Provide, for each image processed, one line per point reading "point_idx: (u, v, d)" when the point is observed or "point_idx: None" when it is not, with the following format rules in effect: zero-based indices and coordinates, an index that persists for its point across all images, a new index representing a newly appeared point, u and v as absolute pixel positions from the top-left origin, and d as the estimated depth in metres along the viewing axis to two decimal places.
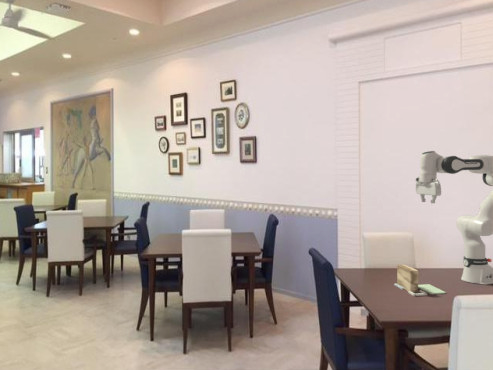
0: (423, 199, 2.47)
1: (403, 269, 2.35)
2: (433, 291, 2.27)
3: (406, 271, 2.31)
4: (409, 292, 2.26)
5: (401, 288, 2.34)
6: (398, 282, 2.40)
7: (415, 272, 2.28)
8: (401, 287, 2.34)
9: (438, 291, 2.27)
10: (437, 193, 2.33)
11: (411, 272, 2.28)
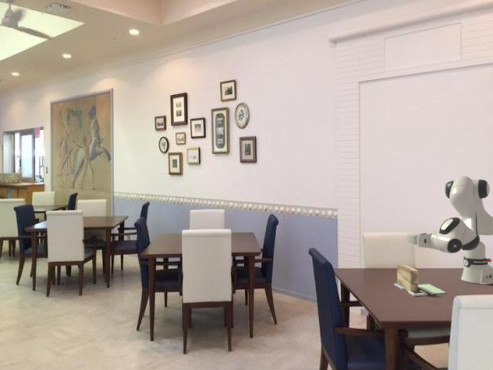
0: None
1: (403, 269, 2.35)
2: (433, 291, 2.27)
3: (406, 271, 2.31)
4: (409, 292, 2.26)
5: (401, 288, 2.34)
6: (398, 282, 2.40)
7: (415, 272, 2.28)
8: (401, 287, 2.34)
9: (438, 291, 2.27)
10: None
11: (411, 272, 2.28)
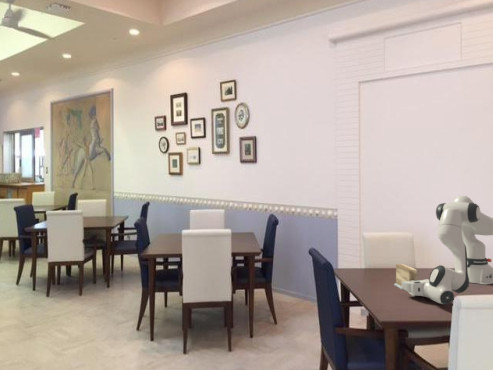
0: None
1: (402, 268, 2.36)
2: None
3: (405, 270, 2.32)
4: (409, 292, 2.26)
5: (401, 288, 2.34)
6: (397, 281, 2.42)
7: (414, 271, 2.29)
8: (401, 287, 2.34)
9: None
10: None
11: (410, 271, 2.29)
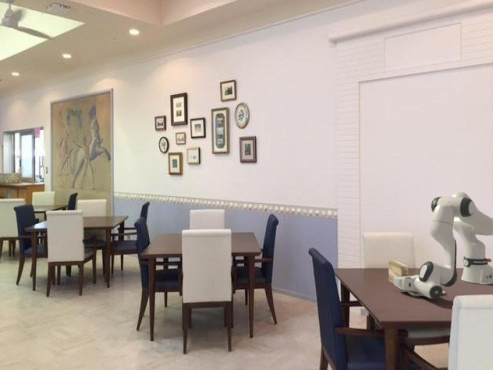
0: None
1: (394, 265, 2.44)
2: None
3: (397, 267, 2.41)
4: (409, 292, 2.26)
5: (401, 288, 2.34)
6: (389, 277, 2.50)
7: (405, 268, 2.38)
8: None
9: None
10: None
11: (401, 268, 2.37)
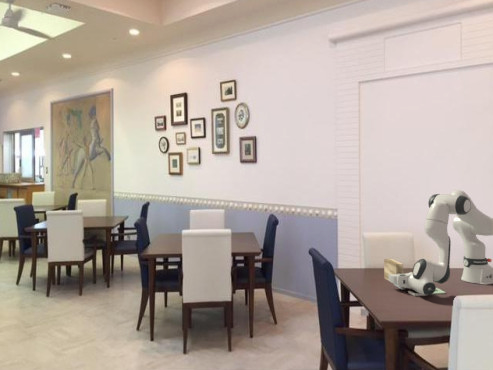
0: None
1: (389, 263, 2.50)
2: None
3: (392, 265, 2.46)
4: (409, 292, 2.26)
5: (401, 288, 2.34)
6: (385, 275, 2.55)
7: (400, 265, 2.43)
8: (401, 287, 2.34)
9: (438, 291, 2.27)
10: None
11: (396, 265, 2.43)
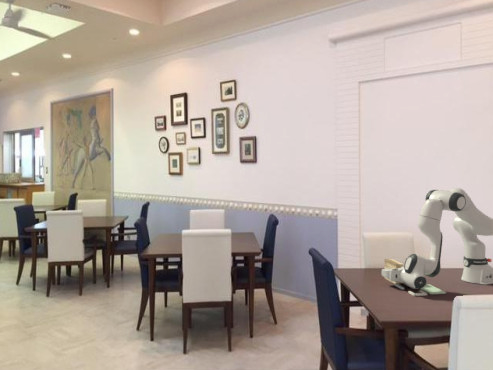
0: None
1: (390, 263, 2.50)
2: (433, 291, 2.27)
3: (393, 265, 2.46)
4: (409, 292, 2.26)
5: (401, 288, 2.34)
6: None
7: (400, 265, 2.43)
8: (401, 287, 2.34)
9: (438, 291, 2.27)
10: None
11: (397, 265, 2.43)
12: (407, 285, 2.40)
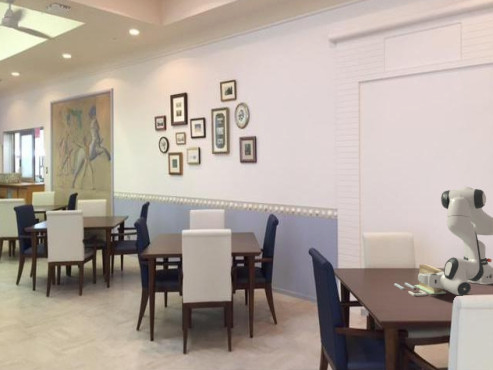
0: None
1: (426, 269, 2.32)
2: None
3: (430, 271, 2.28)
4: (409, 292, 2.26)
5: (401, 288, 2.34)
6: (420, 282, 2.37)
7: None
8: (401, 287, 2.34)
9: None
10: None
11: (435, 272, 2.25)
12: (407, 285, 2.40)
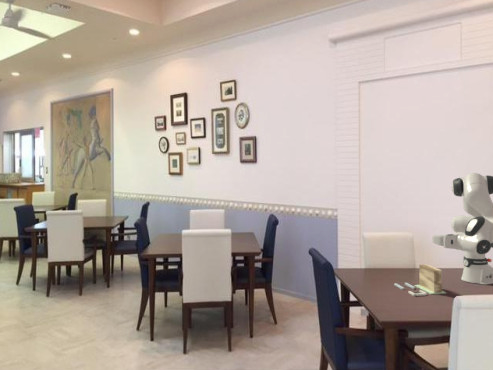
0: None
1: (426, 269, 2.32)
2: None
3: (430, 271, 2.28)
4: (409, 292, 2.26)
5: (401, 288, 2.34)
6: (420, 282, 2.37)
7: (439, 272, 2.25)
8: (401, 287, 2.34)
9: None
10: None
11: (435, 272, 2.25)
12: (407, 285, 2.40)
